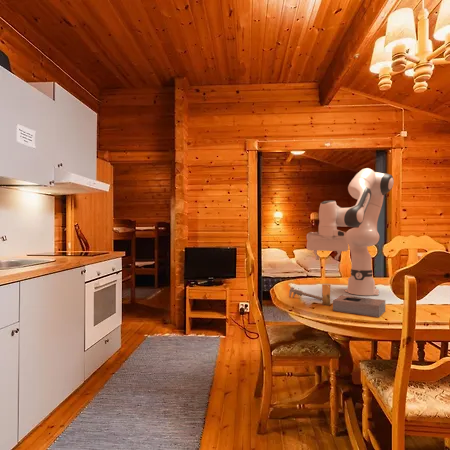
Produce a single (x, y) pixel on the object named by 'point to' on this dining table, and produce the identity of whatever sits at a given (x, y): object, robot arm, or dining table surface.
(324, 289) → the block
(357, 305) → the block
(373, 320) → the dining table surface
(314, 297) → the caliper
